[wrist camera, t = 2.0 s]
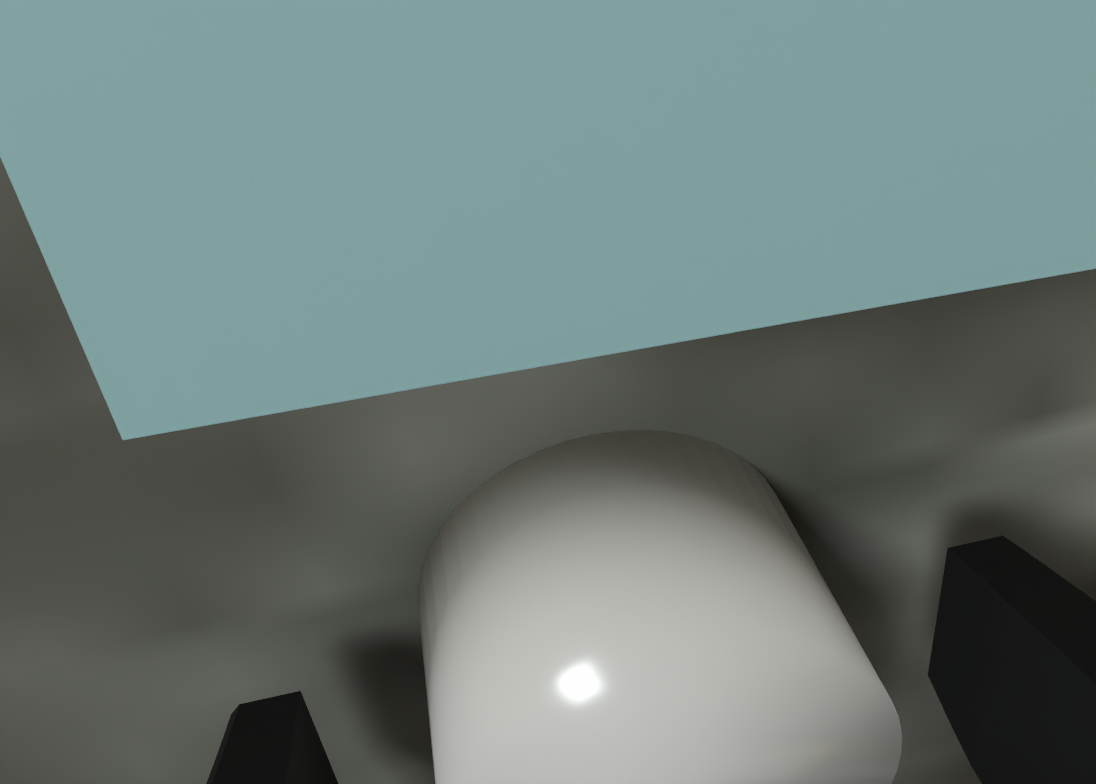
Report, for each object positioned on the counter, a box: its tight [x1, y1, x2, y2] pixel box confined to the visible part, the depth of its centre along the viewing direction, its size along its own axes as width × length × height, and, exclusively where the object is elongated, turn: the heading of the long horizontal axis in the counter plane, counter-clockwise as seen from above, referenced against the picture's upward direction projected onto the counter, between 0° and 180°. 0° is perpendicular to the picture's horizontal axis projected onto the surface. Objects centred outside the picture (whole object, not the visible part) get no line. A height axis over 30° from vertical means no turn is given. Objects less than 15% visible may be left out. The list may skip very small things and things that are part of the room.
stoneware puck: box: [418, 430, 902, 784], centre depth 11 cm, size 4×4×3 cm
